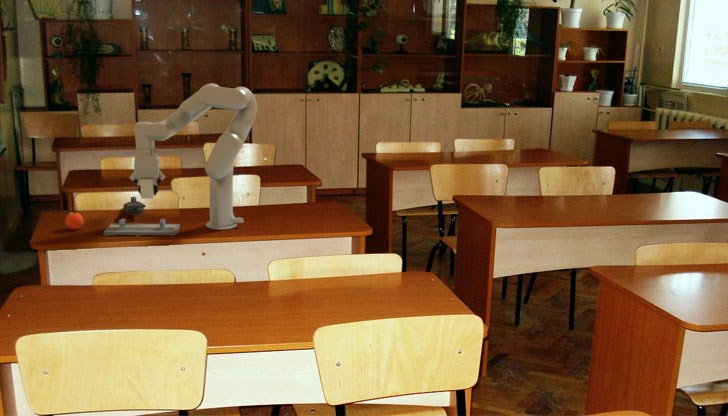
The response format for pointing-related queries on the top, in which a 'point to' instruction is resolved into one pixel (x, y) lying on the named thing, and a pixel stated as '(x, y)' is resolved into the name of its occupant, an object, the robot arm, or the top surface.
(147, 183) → the block
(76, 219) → the clementine
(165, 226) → the rail
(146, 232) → the board
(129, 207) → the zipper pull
